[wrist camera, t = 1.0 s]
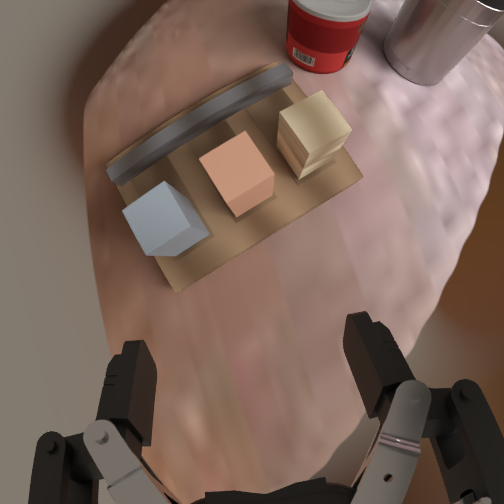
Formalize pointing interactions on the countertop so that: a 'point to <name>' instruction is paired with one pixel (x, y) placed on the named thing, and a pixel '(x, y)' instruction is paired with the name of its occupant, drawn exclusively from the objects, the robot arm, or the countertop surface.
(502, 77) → the countertop surface
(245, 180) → the salmon orange block
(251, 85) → the wooden board with bar
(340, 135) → the maple key
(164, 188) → the slate key
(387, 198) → the countertop surface
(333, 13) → the canned food
